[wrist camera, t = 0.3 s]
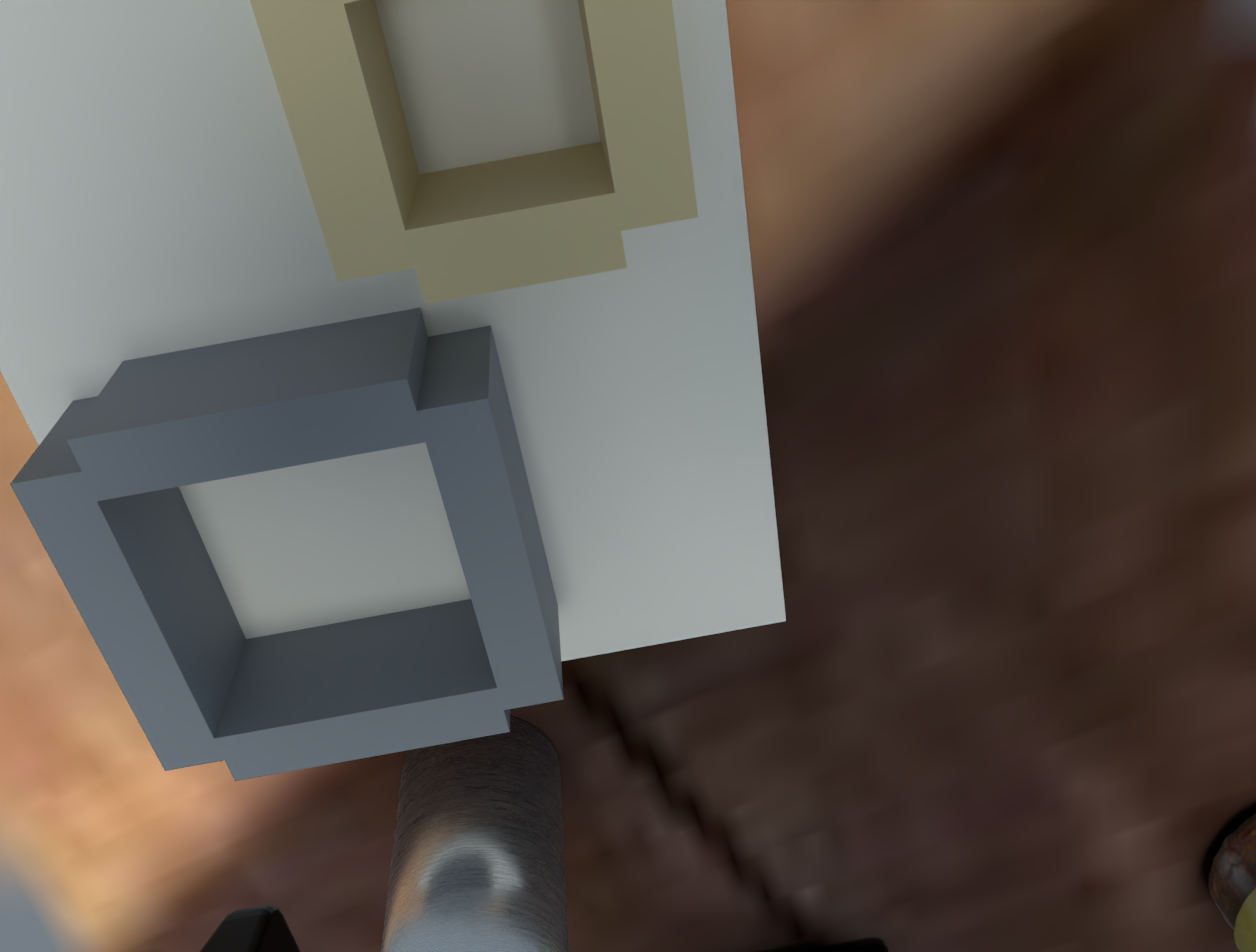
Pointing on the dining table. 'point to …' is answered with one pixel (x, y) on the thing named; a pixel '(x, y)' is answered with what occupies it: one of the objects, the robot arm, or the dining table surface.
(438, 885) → the metal cylinder
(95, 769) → the dining table surface
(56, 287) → the fitting plate
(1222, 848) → the sauce bottle
